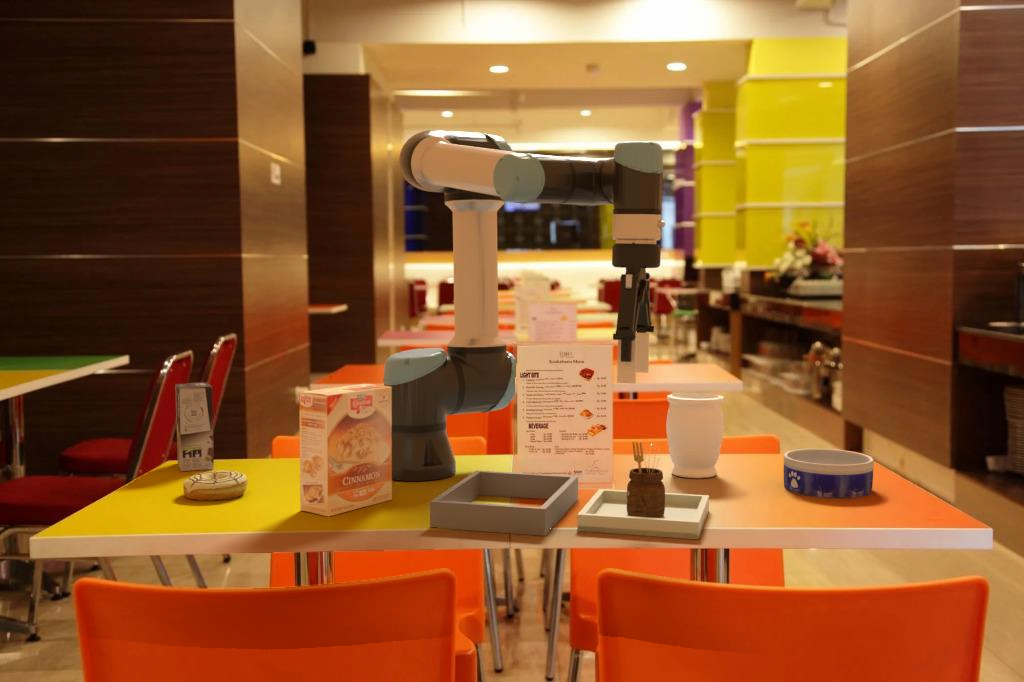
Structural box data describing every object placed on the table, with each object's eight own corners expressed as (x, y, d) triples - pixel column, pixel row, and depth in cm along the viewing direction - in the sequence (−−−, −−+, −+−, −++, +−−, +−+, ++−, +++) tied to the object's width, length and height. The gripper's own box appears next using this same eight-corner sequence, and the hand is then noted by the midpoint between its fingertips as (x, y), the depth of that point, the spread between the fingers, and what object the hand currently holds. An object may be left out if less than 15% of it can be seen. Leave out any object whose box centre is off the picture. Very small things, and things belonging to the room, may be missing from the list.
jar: (719, 469, 203) (721, 392, 202) (725, 480, 193) (726, 399, 192) (664, 468, 204) (665, 391, 203) (667, 479, 194) (668, 399, 193)
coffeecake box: (329, 517, 166) (327, 394, 164) (298, 510, 170) (296, 391, 169) (394, 500, 178) (393, 385, 176) (364, 494, 182) (363, 382, 181)
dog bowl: (892, 493, 183) (893, 459, 183) (826, 503, 176) (827, 467, 176) (828, 477, 197) (828, 445, 196) (764, 485, 190) (765, 452, 189)
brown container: (671, 513, 165) (672, 438, 164) (653, 522, 160) (654, 444, 159) (637, 508, 168) (638, 434, 167) (618, 516, 163) (619, 440, 162)
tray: (577, 530, 158) (577, 514, 158) (599, 503, 175) (599, 488, 175) (698, 539, 153) (699, 522, 153) (708, 510, 170) (709, 495, 170)
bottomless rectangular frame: (429, 527, 160) (429, 501, 159) (476, 493, 183) (476, 470, 182) (545, 535, 155) (545, 509, 155) (578, 499, 178) (578, 476, 178)
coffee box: (215, 469, 203) (213, 386, 202) (180, 472, 201) (178, 388, 199) (210, 461, 212) (208, 381, 210) (176, 463, 209) (174, 382, 208)
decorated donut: (184, 491, 185) (184, 470, 185) (247, 487, 188) (247, 466, 188) (181, 504, 175) (181, 482, 175) (248, 500, 178) (247, 478, 178)
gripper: (649, 242, 151) (645, 389, 153) (670, 242, 175) (667, 369, 177) (597, 242, 153) (594, 386, 155) (625, 242, 177) (622, 367, 179)
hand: (633, 377), depth 166 cm, fingers open, 13 cm apart
